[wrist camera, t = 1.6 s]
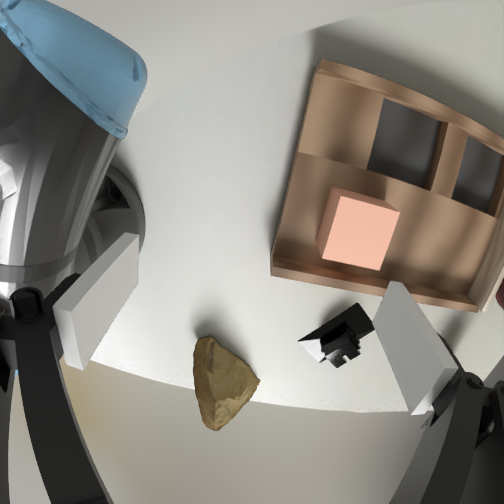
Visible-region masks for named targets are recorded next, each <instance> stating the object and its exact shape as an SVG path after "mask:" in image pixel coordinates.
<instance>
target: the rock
mask: <svg viewBox="0 0 504 504" xmlns="http://www.w3.org/2000/svg"><path fill="white" fill-rule="evenodd" d="M193 357H194V362H193V363H194V367H193V376H194V385H195V393H196V397H197V400H198V403H199V408H200V413H201V416H202V421H203V422H204V424H205V426H206V427H208V428H210V429H212V430H214V431H219V430H220V429H221V428H222V427H223V426H224V425H226V424H227V423H228V422H229V421H230V420H231V419H233V418H234V417H235V416H236V414H237V413H238V412H239V411H240V410H241V408H242V407H243V406H244V405H245V404H246V403H247V402H248V401H249V400H250V398H251V397H252V396H253V394H254V392H255V391H256V389H257V386H258V385H259V383H260V380H258V379H257V378H256V377H255V375H254V374H253V371H252V370H251V369H250V366H248V365H247V364H245V363H244V362H243V361H242V360H241V359H239V358H238V357H237V356H234V355H233V354H232V353H230V351H228V350H227V349H225V348H222V347H221V346H220V345H219V344H218V343H217V342H216V340H215V339H213V338H212V337H206V338H202V339H200V340H198V341H197V343H196V345H195V350H194V353H193Z"/></svg>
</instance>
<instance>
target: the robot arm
mask: <svg viewBox="0 0 504 504" xmlns="http://www.w3.org/2000/svg"><path fill="white" fill-rule="evenodd" d="M146 83H147V68H146V65H145V62H144V60H143V59H142V58H141V56H140V55H139V54H138V53H137V52H135V51H134V50H133V49H131V48H130V47H129V46H127V45H126V44H124V43H123V42H121V41H120V40H118V39H117V38H115V37H114V36H112V35H110V34H109V33H107V32H105V31H104V30H102V29H100V28H99V27H97V26H95V25H94V24H92V23H90V22H88V21H86V20H85V19H83V18H81V17H79V16H77V15H75V14H73V13H72V12H70V11H68V10H66V9H63V8H61V7H59V6H57V5H55V4H53V3H50V2H48V1H46V0H0V504H10V499H9V482H8V440H9V422H10V410H11V400H12V391H13V384H14V378H15V377H16V376H17V375H19V383H20V388H21V395H22V401H23V407H24V412H25V417H26V421H27V426H28V430H29V434H30V438H31V442H32V446H33V450H34V454H35V457H36V461H37V464H38V467H39V470H40V473H41V476H42V479H43V482H44V485H45V488H46V491H47V494H48V496H49V499H50V501H51V504H114V503H113V501H112V499H111V498H110V495H109V493H108V491H107V489H106V487H105V485H104V483H103V481H102V479H101V477H100V475H99V473H98V471H97V468H96V466H95V464H94V462H93V459H92V457H91V455H90V452H89V450H88V448H87V445H86V443H85V440H84V438H83V435H82V433H81V430H80V428H79V425H78V422H77V419H76V416H75V413H74V411H73V408H72V404H71V401H70V398H69V395H68V392H67V388H66V385H65V381H64V378H63V374H62V371H61V367H60V364H59V360H60V358H61V357H62V355H63V354H64V357H65V361H66V364H67V365H69V366H72V367H75V368H78V369H80V370H84V368H85V366H86V365H87V363H88V362H89V360H90V358H91V356H92V355H93V353H94V351H95V350H96V348H97V346H98V345H99V343H100V342H101V340H102V338H103V337H104V335H105V333H106V332H107V330H108V329H109V327H110V325H111V324H112V322H113V321H114V319H115V317H116V316H117V314H118V313H119V311H120V310H121V308H122V307H123V305H124V303H125V302H126V300H127V299H128V297H129V296H130V294H131V293H132V291H133V290H134V288H135V287H136V285H137V284H138V255H139V253H140V251H141V248H142V245H143V242H144V237H145V217H144V212H143V208H142V204H141V201H140V199H139V197H138V194H137V192H136V191H135V189H134V187H133V186H132V184H131V183H130V181H129V180H128V179H127V178H126V177H125V176H124V175H123V174H122V173H121V172H120V171H119V170H118V169H116V168H115V167H114V166H112V165H110V162H111V160H112V158H113V156H114V154H115V152H116V149H117V147H118V145H119V143H120V141H121V139H124V138H125V136H126V135H127V132H128V130H127V126H128V123H129V121H130V119H131V116H132V114H133V112H134V109H135V107H136V105H137V103H138V101H139V99H140V97H141V95H142V93H143V91H144V89H145V86H146ZM372 324H373V326H374V328H375V331H376V333H377V335H378V337H379V339H380V342H381V344H382V346H383V349H384V351H385V353H386V356H387V358H388V360H389V363H390V365H391V367H392V370H393V372H394V374H395V377H396V379H397V382H398V384H399V387H400V389H401V392H402V394H403V397H404V399H405V402H406V404H407V407H408V410H409V412H410V414H411V415H417V414H425V412H426V411H427V410H428V409H429V407H430V406H431V405H432V406H433V408H434V410H435V411H434V412H433V413H432V414H431V416H430V417H429V418H428V419H427V420H426V421H425V423H424V424H423V425H422V426H421V428H423V427H424V426H425V425H427V426H426V428H425V430H424V433H423V435H422V438H421V440H420V442H419V445H418V447H417V449H416V452H415V454H414V456H413V458H412V460H411V463H410V465H409V467H408V469H407V471H406V473H405V475H404V477H403V479H402V481H401V483H400V485H399V486H398V489H397V491H396V492H395V494H394V496H393V498H392V499H391V501H390V503H389V504H459V503H460V501H461V504H504V381H501V380H500V381H498V382H497V383H496V384H495V386H494V387H493V388H488V387H484V384H483V382H482V380H481V379H480V378H479V377H478V376H477V375H475V374H473V373H471V372H465V371H464V369H463V368H462V366H461V364H460V363H459V361H458V360H457V358H456V356H455V355H454V354H453V352H452V350H451V349H450V348H449V345H448V344H447V342H446V341H445V339H443V338H442V337H441V336H440V335H439V334H438V333H436V331H435V330H434V328H433V327H432V325H431V324H430V322H429V321H428V319H427V318H426V316H425V315H424V313H423V312H422V310H421V309H420V307H419V306H418V304H417V303H416V302H415V300H414V299H413V297H412V296H411V294H410V293H409V292H408V290H407V289H406V288H405V286H404V285H403V283H401V282H395V281H390V283H389V285H388V287H387V290H386V292H385V295H384V297H383V299H382V302H381V304H380V306H379V308H378V311H377V313H376V315H375V317H374V319H373V322H372ZM493 424H494V428H493V431H492V432H490V431H489V428H490V427H491V426H492V425H493Z"/></svg>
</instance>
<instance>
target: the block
mask: <svg viewBox="0 0 504 504" xmlns="http://www.w3.org/2000/svg"><path fill="white" fill-rule="evenodd" d="M399 214H400V212H399V211H398V210H396V209H395V208H394V207H392V206H391V205H390V204H389V203H387V202H386V201H383V200H380V199H377V198H373V197H370V196H366V195H362V194H359V193H355V192H352V191H348V190H344V189H340V188H337V187H333V186H331V190H330V194H329V198H328V201H327V205H326V208H325V212H324V215H323V219H322V222H321V226H320V229H319V233H318V236H317V240H316V244H317V246H318V249H319V252H320V254H321V257H322V258H323V259H327V260H332V261H337V262H342V263H346V264H351V265H356V266H361V267H365V268H370V269H375V270H380V267H381V265H382V262H383V259H384V257H385V254H386V251H387V249H388V246H389V243H390V241H391V238H392V235H393V232H394V229H395V226H396V223H397V220H398V217H399Z"/></svg>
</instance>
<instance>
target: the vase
mask: <svg viewBox="0 0 504 504" xmlns="http://www.w3.org/2000/svg"><path fill="white" fill-rule="evenodd" d="M496 299H497V302H498V304H499V305H500V306H501V307H502V309H503V310H504V278H503V280H502V282H501V284H500V286H499V288H498V290H497V292H496Z"/></svg>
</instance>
